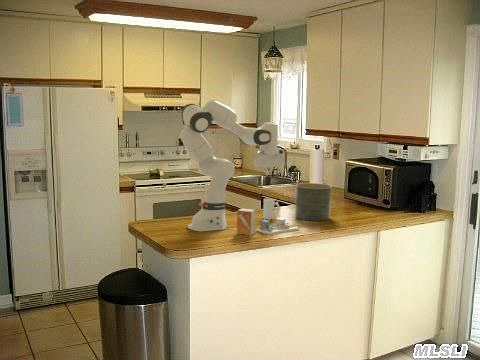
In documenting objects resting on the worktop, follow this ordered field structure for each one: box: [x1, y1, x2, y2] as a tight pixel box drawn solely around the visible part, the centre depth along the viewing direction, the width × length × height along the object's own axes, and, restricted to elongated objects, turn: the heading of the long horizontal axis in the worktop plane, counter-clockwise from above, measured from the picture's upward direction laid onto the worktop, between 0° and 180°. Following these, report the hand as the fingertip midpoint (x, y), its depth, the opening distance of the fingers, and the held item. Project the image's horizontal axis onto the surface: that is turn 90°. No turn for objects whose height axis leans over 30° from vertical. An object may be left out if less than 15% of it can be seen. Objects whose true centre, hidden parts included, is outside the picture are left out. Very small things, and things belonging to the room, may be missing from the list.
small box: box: [236, 208, 256, 236], centre depth 270 cm, size 8×6×13 cm
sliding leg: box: [276, 217, 290, 227], centre depth 280 cm, size 3×9×4 cm, turn 35°
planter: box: [294, 182, 333, 222], centre depth 315 cm, size 22×22×20 cm
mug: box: [262, 198, 280, 221], centre depth 308 cm, size 10×7×12 cm, turn 71°
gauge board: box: [256, 219, 300, 235], centre depth 279 cm, size 22×10×6 cm, turn 125°
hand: (268, 174), depth 290 cm, fingers closed
